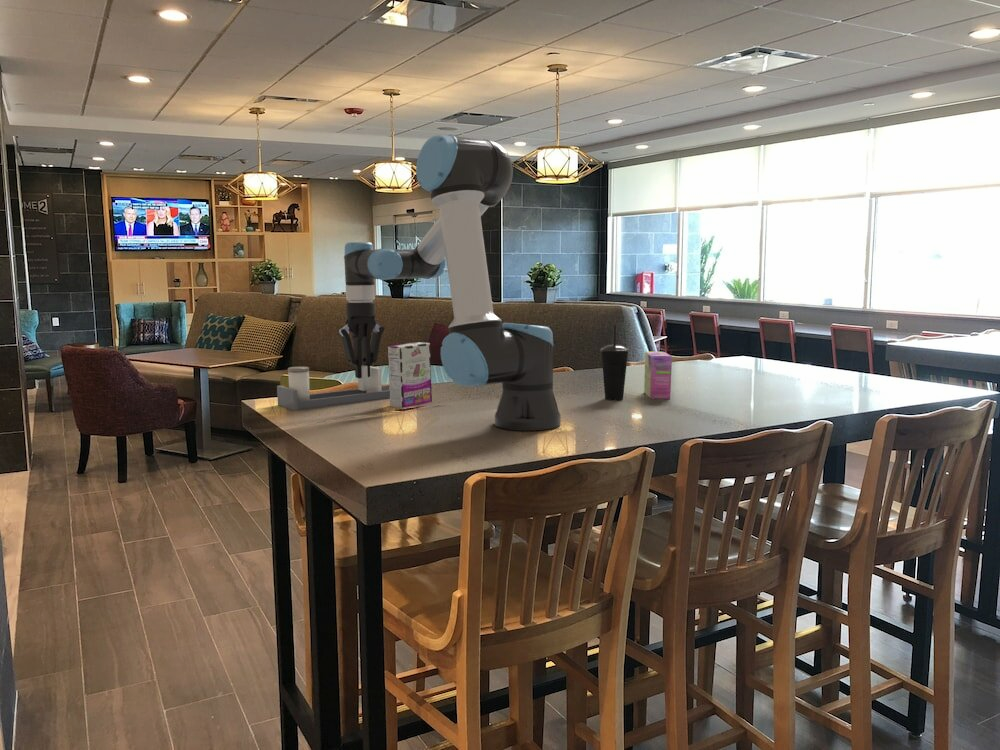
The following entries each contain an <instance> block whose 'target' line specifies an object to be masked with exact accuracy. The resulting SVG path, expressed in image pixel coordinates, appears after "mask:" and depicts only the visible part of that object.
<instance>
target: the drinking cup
mask: <svg viewBox="0 0 1000 750" xmlns="http://www.w3.org/2000/svg"><path fill="white" fill-rule="evenodd" d="M629 352H630V349H629V348H627V347H626V346H624V345H621V344H617V325H616V324H614V325H613V343H612V344H608V345H605V346H604V347H601V348H600V353H601V362H602V377H603V387H604V388H603V389H604V399H605V400H607V401H621V400H624V392H625V384H626V375H627V365H628V355H629Z"/></svg>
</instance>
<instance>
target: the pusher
mask: <svg viewBox="0 0 1000 750" xmlns="http://www.w3.org/2000/svg"><path fill="white" fill-rule="evenodd" d="M382 386H383V385H382V368H381V367H375V366H373V365H371V366H370V377H368V390H366V391H367V393H371V392H379V391H382Z"/></svg>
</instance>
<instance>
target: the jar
mask: <svg viewBox="0 0 1000 750" xmlns="http://www.w3.org/2000/svg"><path fill="white" fill-rule="evenodd" d="M287 372H288V375H287V376H288V388H291V389H294V390H297V401H304V400H310V394H311V393H310V367H309V366H291V367H288V368H287Z"/></svg>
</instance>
